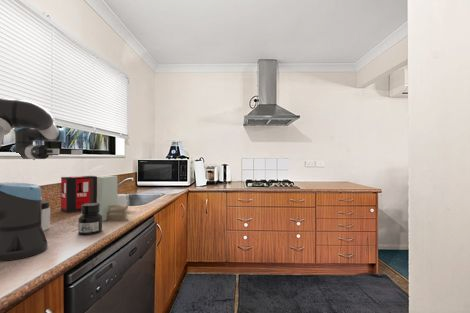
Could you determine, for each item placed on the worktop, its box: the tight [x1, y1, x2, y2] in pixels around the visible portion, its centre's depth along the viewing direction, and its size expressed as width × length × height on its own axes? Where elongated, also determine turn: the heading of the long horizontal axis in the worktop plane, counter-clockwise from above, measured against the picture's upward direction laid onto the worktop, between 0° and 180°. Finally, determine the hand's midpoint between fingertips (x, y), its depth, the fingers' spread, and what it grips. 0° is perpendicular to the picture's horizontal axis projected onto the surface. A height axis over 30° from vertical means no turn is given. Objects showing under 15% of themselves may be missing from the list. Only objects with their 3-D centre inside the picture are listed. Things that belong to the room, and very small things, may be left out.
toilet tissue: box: [117, 193, 127, 206], centre depth 147 cm, size 11×12×10 cm
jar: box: [41, 200, 51, 232], centre depth 111 cm, size 9×8×12 cm
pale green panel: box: [97, 175, 118, 222], centre depth 132 cm, size 11×3×22 cm, turn 167°
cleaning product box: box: [60, 175, 98, 214], centre depth 154 cm, size 16×9×20 cm, turn 143°
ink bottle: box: [77, 203, 103, 236], centre depth 108 cm, size 10×9×12 cm
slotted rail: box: [107, 205, 129, 221], centre depth 132 cm, size 2×22×7 cm, turn 77°
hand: (70, 151), depth 129 cm, fingers open, 13 cm apart
